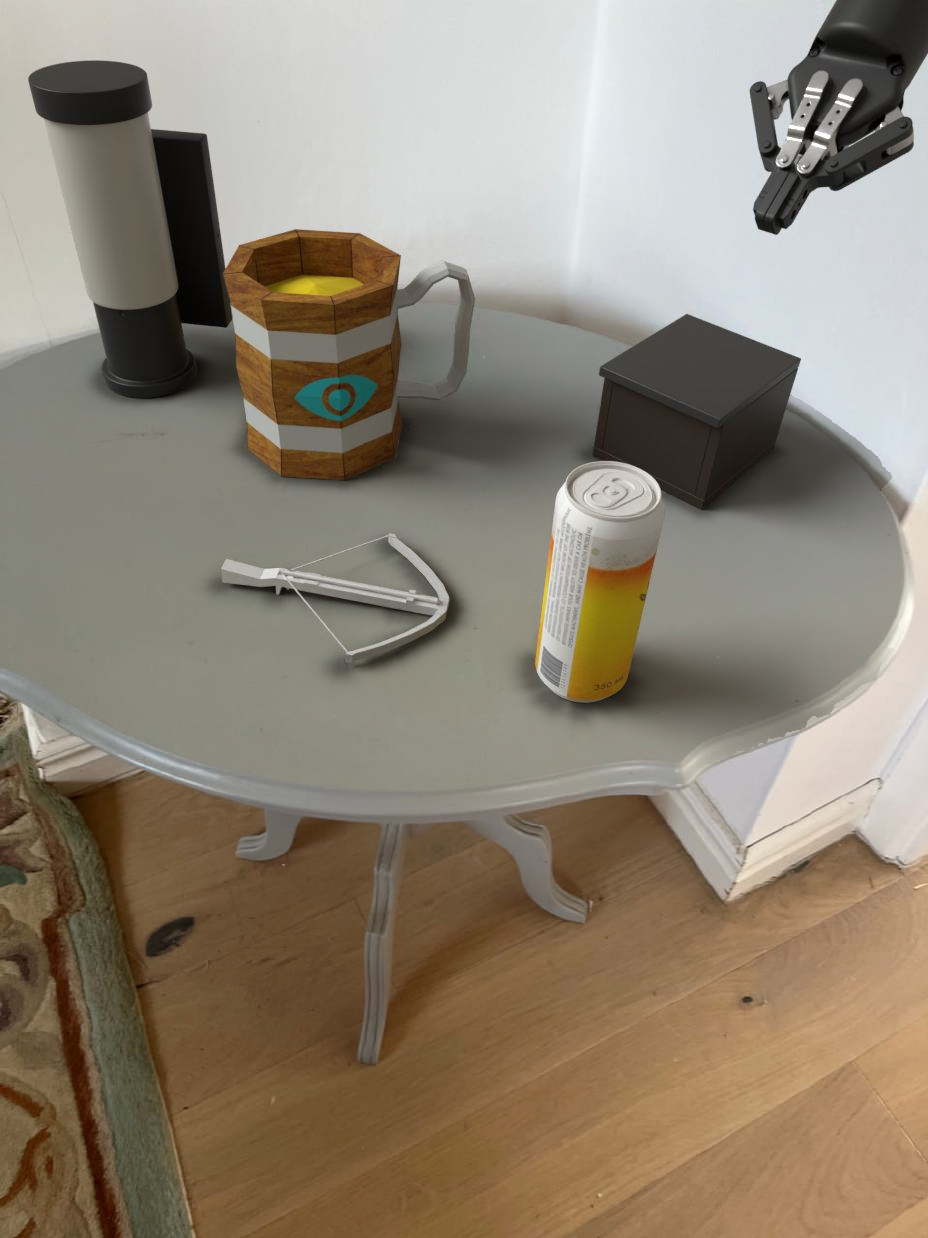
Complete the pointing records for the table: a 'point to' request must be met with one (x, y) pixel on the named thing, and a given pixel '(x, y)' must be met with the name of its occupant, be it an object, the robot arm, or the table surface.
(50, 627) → the table surface
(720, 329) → the lid
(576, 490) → the beer can
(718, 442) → the hinged brown box
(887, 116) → the robot arm
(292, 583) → the crossbow
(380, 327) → the mug
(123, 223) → the light fixture
